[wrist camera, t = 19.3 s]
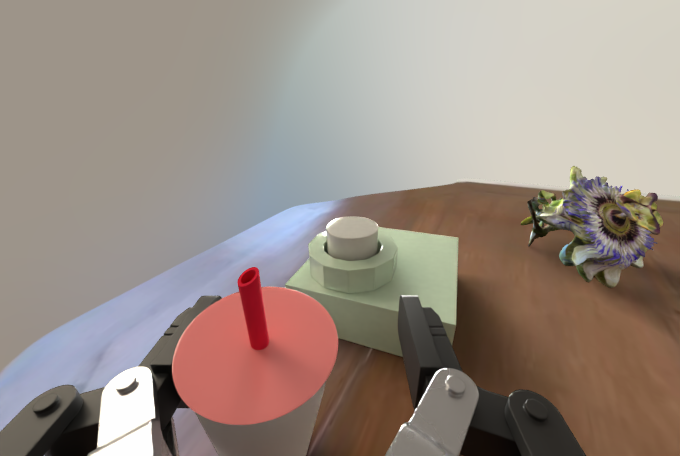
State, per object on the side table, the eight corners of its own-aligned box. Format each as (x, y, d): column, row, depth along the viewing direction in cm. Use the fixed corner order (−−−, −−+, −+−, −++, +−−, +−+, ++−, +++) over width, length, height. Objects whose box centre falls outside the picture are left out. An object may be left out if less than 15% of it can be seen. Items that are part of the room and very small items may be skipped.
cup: (202, 557, 11) (104, 367, 5) (218, 414, 15) (175, 227, 10) (334, 513, 12) (374, 326, 6) (313, 394, 17) (326, 220, 11)
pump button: (319, 257, 21) (317, 233, 20) (338, 235, 24) (337, 213, 23) (369, 267, 20) (369, 242, 19) (383, 242, 23) (383, 219, 22)
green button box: (290, 324, 22) (281, 261, 20) (343, 253, 32) (342, 205, 30) (447, 370, 18) (461, 298, 16) (452, 272, 28) (461, 218, 26)
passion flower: (583, 325, 28) (610, 276, 20) (492, 260, 36) (483, 205, 28) (665, 253, 28) (727, 174, 20) (557, 204, 36) (568, 132, 28)
